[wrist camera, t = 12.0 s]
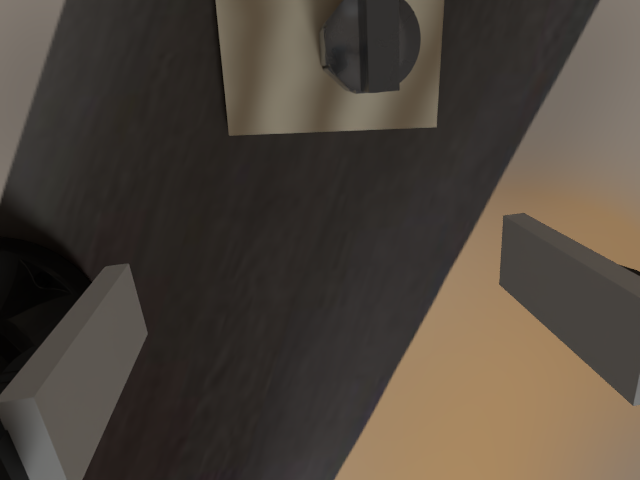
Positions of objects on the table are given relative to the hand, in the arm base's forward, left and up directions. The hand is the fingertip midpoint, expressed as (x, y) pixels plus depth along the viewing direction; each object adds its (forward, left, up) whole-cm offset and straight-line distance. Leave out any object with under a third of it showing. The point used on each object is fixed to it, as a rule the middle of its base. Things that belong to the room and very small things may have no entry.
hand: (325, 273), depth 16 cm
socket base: (+3, +9, -22) cm, 24 cm away
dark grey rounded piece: (+5, +8, -21) cm, 23 cm away
